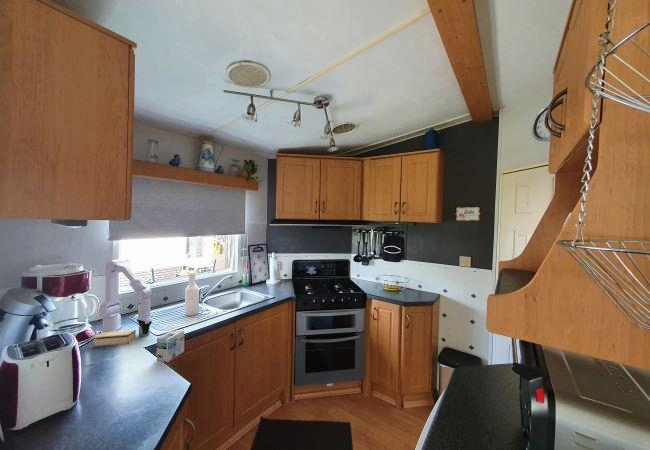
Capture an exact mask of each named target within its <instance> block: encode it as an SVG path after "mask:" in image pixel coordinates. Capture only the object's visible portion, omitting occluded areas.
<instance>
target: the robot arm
mask: <svg viewBox="0 0 650 450" xmlns="http://www.w3.org/2000/svg"><path fill="white" fill-rule="evenodd" d="M119 273H123V275H124V276H125V277H126V278H127V279H128V281H130V282H129V286H130V287H131V288H132V289H133V291H134V292H135V298H136V302H137V303H138V304H137V305H138V306H137V310H138V311H137V315H138V316H137V317H135V321H136V322H137V323H138V325H139V326H141V327H142V332H143V335H144V334H148V331H149V327H150V326H151V324H152V322H153V321H152V320H150V319H151V316H152V315H151V297H152V296H153V293H154V292H153V291H154V290H153V289H152V288H151V287H150V286H148V285H146V284H145V283H144V282H143V280H142V279H141V278H140V277H137V275H136V274H135V272H134V271H133V269H132V267H131V262H130V260H129V259H128V258H124V257H123V258H120V259H119V258H118V259H112V260H110V259H109V260H108V261H106V262H105V295H104V296H105V299H104V301H103V302H102V303H100V305H99V309H98V315H99V316H100V317H101V319H102V330H101V331H102V333H103V332H116V331H118V330H120V329H121V328H122V327H123V326H124V325H122V315H121V314H120V313H121V312H122V310H123V306H122V304H121V303H122V302H121V299H118V274H119ZM139 326H138V327H139ZM150 328H151V327H150Z"/></svg>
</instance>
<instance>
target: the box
mask: <svg viewBox="0 0 650 450" xmlns="http://www.w3.org/2000/svg"><path fill="white" fill-rule="evenodd" d="M136 332H137V330H136V331H135V332H133V333H131V334H130V335H126V336H113V337H101V338H93V340H92V343H93V344H92V346H93V347H102V346H104V347H105V346H117V345H124V344H130V342H132V341H134V339H135V338H136V335H137V334H136ZM131 340H132V341H131Z"/></svg>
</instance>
